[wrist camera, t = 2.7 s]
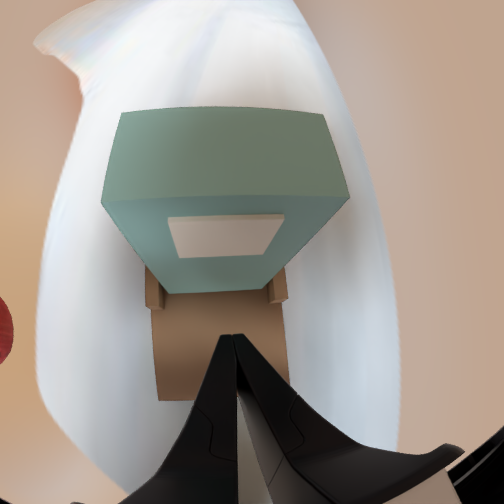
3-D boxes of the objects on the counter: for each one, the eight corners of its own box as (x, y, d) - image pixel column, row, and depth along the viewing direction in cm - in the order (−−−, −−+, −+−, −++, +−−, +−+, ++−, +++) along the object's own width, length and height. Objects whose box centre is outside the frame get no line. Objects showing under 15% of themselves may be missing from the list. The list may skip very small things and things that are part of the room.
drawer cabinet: (286, 387, 17) (347, 419, 9) (161, 397, 15) (122, 442, 7) (265, 202, 21) (298, 122, 13) (155, 206, 20) (130, 123, 11)
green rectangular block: (261, 291, 18) (351, 202, 6) (169, 296, 17) (99, 208, 5) (256, 245, 19) (323, 114, 7) (168, 249, 18) (121, 112, 6)
